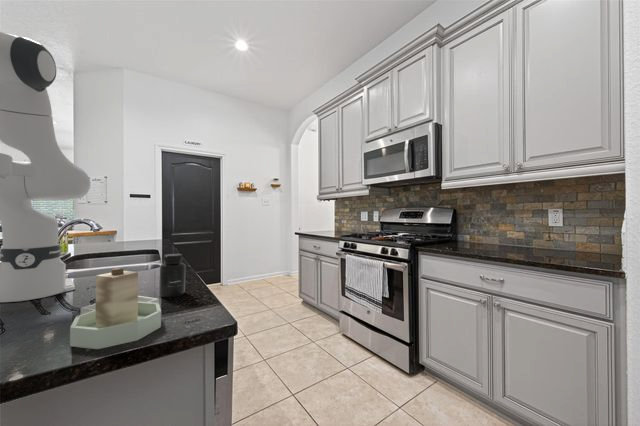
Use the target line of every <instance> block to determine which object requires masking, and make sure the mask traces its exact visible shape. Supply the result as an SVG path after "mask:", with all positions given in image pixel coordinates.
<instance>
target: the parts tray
mask: <svg viewBox="0 0 640 426" xmlns="http://www.w3.org/2000/svg"><path fill="white" fill-rule="evenodd" d="M138 302H151V303H159V304H160V299H159V298H157V297H150V296H143V295H138ZM93 310H96V303H94V304H90V305H87V306H86V305H85V306H82V307H80V315H82V314H85V313H87V312H90V311H93Z"/></svg>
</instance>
